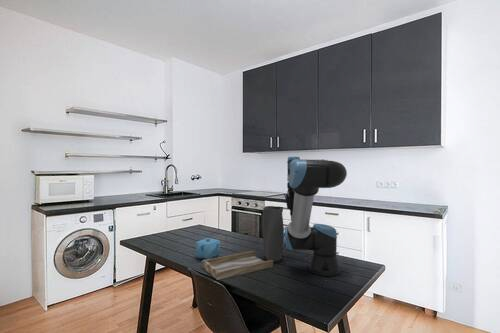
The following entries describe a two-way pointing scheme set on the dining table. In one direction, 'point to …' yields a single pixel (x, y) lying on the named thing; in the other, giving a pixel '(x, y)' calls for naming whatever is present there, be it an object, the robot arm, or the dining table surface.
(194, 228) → the dining table surface
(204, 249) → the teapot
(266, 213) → the vase
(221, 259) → the tray
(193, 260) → the dining table surface
